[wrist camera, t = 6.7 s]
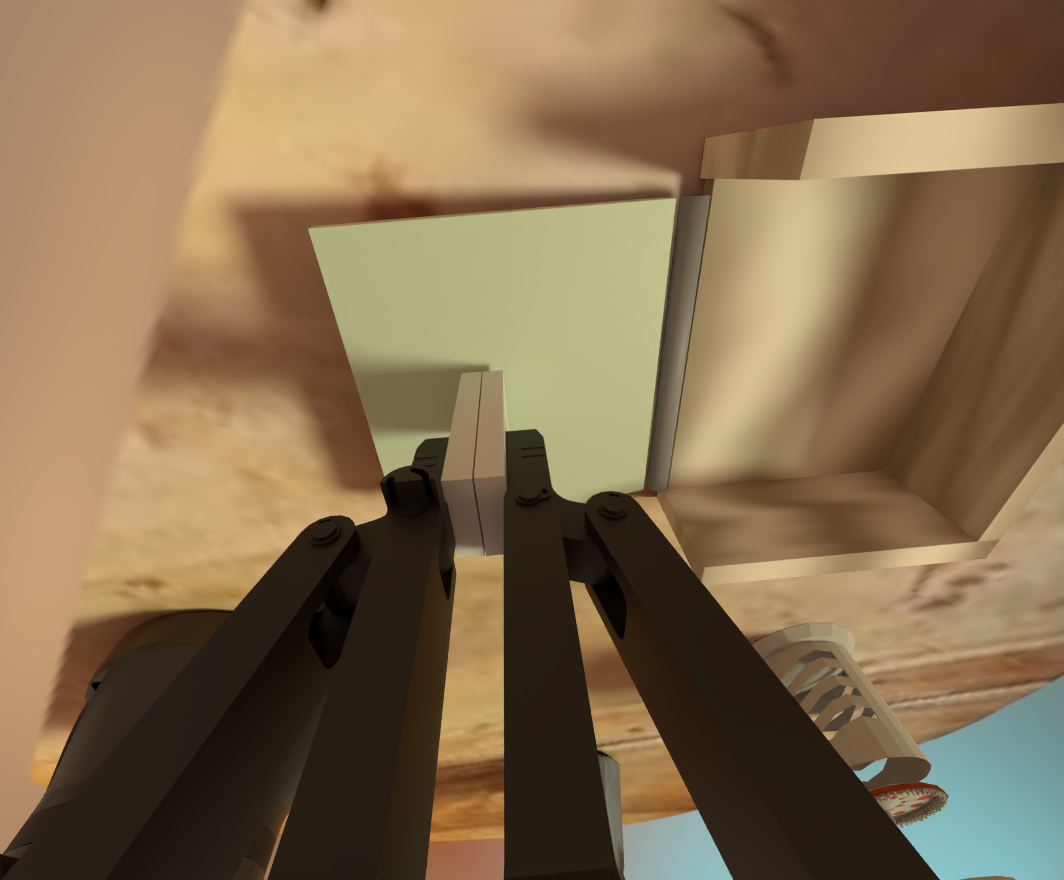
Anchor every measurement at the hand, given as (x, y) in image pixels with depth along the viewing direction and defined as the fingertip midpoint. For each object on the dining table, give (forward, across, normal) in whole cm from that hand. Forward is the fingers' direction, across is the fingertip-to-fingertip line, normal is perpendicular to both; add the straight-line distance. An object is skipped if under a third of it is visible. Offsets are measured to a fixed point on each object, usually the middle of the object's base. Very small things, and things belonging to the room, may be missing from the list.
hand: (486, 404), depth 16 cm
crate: (+3, -15, 0) cm, 15 cm away
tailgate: (+2, -2, 0) cm, 3 cm away
